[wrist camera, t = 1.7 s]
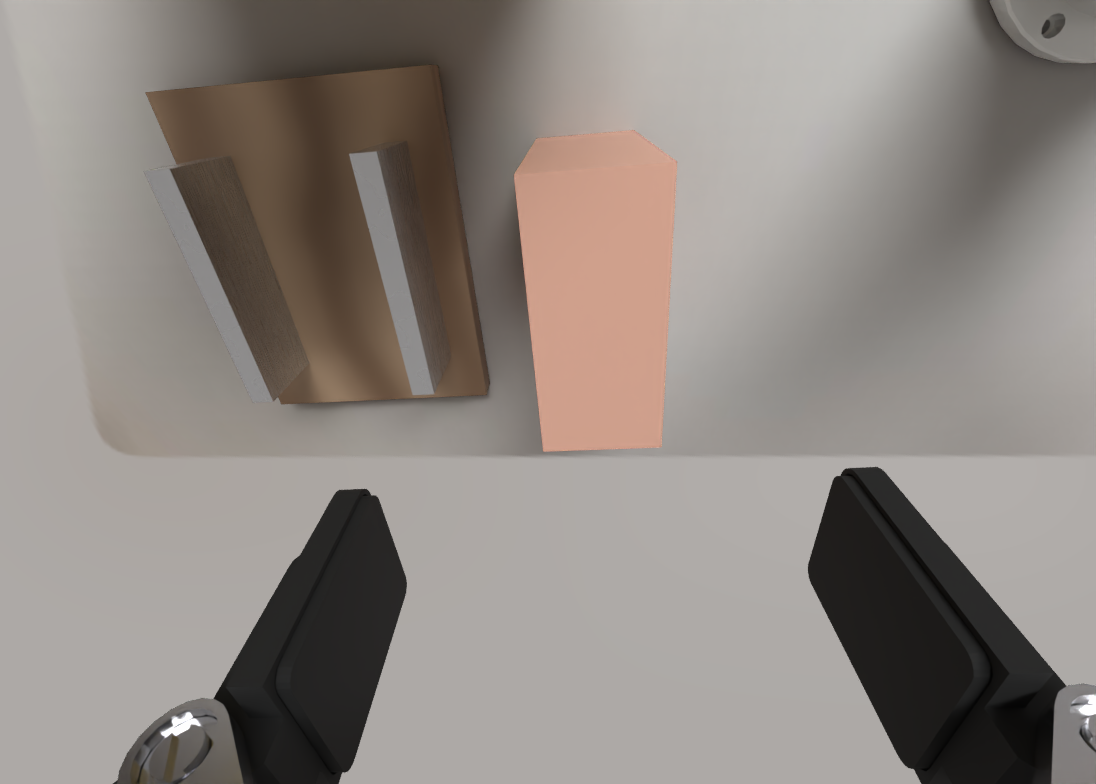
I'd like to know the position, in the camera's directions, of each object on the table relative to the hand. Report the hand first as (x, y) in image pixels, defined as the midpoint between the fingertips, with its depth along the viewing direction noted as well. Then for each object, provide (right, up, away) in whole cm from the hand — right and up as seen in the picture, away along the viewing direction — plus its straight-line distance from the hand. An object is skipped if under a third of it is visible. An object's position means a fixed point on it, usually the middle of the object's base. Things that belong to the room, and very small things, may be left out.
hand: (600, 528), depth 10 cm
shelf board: (-13, +11, +19) cm, 25 cm away
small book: (+1, +12, +18) cm, 21 cm away
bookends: (-13, +10, +17) cm, 24 cm away
